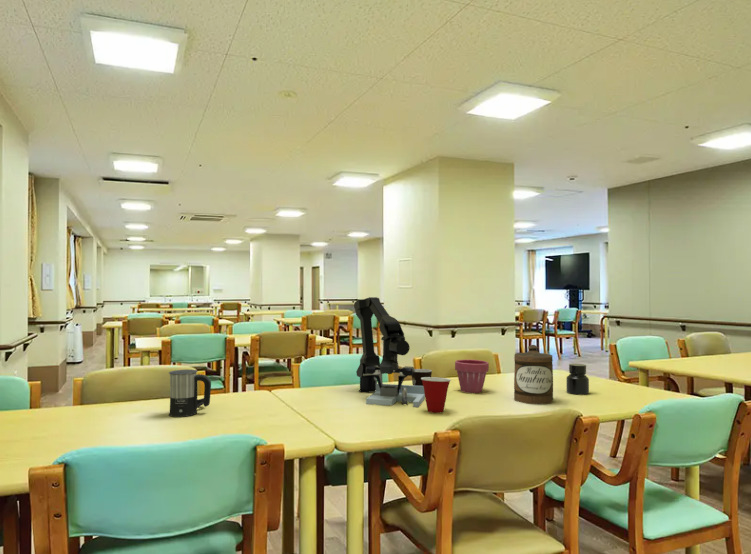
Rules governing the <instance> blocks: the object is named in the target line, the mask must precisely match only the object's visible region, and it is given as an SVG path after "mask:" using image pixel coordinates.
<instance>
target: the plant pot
mask: <svg viewBox="0 0 751 554" xmlns="http://www.w3.org/2000/svg"><path fill="white" fill-rule="evenodd" d="M489 364H490V363H489V362H488V361H486V360H479V359H456V360H455V361H454V369H455V371H456V373H457V379H458V383H459V389H460V392H461V393H467V394H480V392H481V393H482V392H483V389H484V385H485V381H486V376H487V372H489V370H490V369H489V368H490V367H489V366H490V365H489Z"/></svg>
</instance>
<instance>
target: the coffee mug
mask: <svg viewBox="0 0 751 554" xmlns="http://www.w3.org/2000/svg"><path fill="white" fill-rule="evenodd" d="M414 369H415V374H414V375H412V376H411V380H412V381H411V383H412V385H413V386H423V382H422V379H421V378H422V377H432V374H433V371H432V370H431V369H427V368H414Z"/></svg>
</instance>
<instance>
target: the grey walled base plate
mask: <svg viewBox="0 0 751 554" xmlns="http://www.w3.org/2000/svg"><path fill="white" fill-rule="evenodd" d="M384 385H389V386H398V384H395V383H394V384H393V383H383V386H384ZM402 388H407V403H412V407H413V408H419V407H420V406H421V405H422V403H423V402H424V401H425V393H424V387H423V386H413V384H412V385H410V384H409V385H408V384H402V385H401V388H400V394H399V395H398V396H397V397H392V396H380V387H379V384H378V383H377V384H376V391H374V392H372V394H370V395H369V396H368V397H367V398H366V399H365V400H366V401H365V404H366V405H373V404H376V406H378V405H379V406H389V405H392V406H393V405H394V404H395V403H396V402H400V401H402ZM420 404H421V405H420Z"/></svg>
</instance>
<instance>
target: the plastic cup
mask: <svg viewBox="0 0 751 554" xmlns="http://www.w3.org/2000/svg"><path fill="white" fill-rule="evenodd" d="M421 379H422V382H423V387H424V393H425V399H424V401H425V402H426V403H425V405H426V409H427V412H428V413H432V412H433V413H435V414H436V413H437V414H440V412H441V413H443V412H444V410H445V406H446V401H447V395H448V390H449V387H450V386H449V385H450V383H451V381H452V379H451V378H446V377H435V376H434V377H433V376H431V377H422V378H421Z"/></svg>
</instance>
